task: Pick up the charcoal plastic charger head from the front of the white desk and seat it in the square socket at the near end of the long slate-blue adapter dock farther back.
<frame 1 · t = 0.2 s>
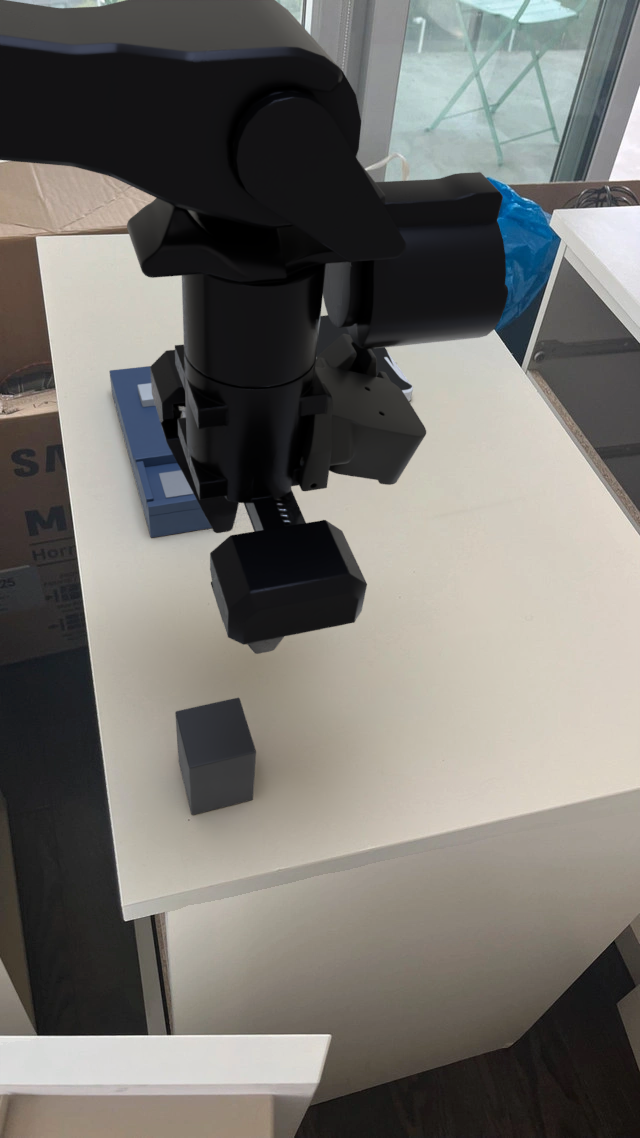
hand: (242, 586, 48), 14 cm above the table, tool pointing down, fingers open, 9 cm apart
adapter: (165, 454, 76), on the table
charger: (215, 780, 55), on the table
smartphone: (350, 366, 88), on the table
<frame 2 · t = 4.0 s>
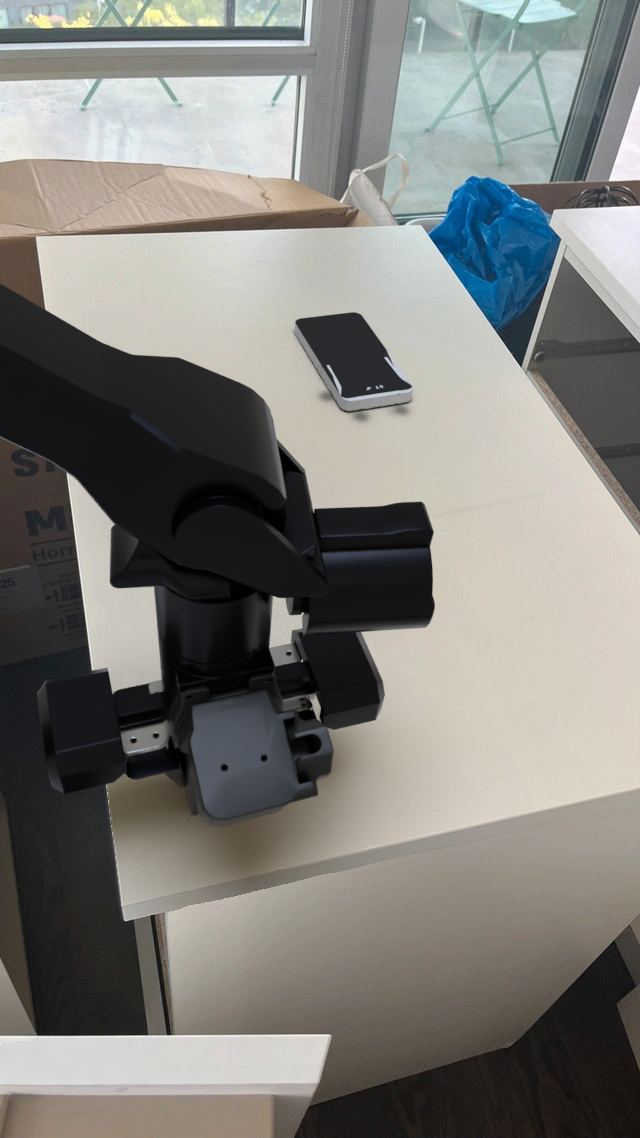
hand: (215, 772, 54), 1 cm above the table, tool pointing down, fingers closed on charger, 4 cm apart
charger: (215, 780, 55), on the table, touching gripper
everything else where it was.
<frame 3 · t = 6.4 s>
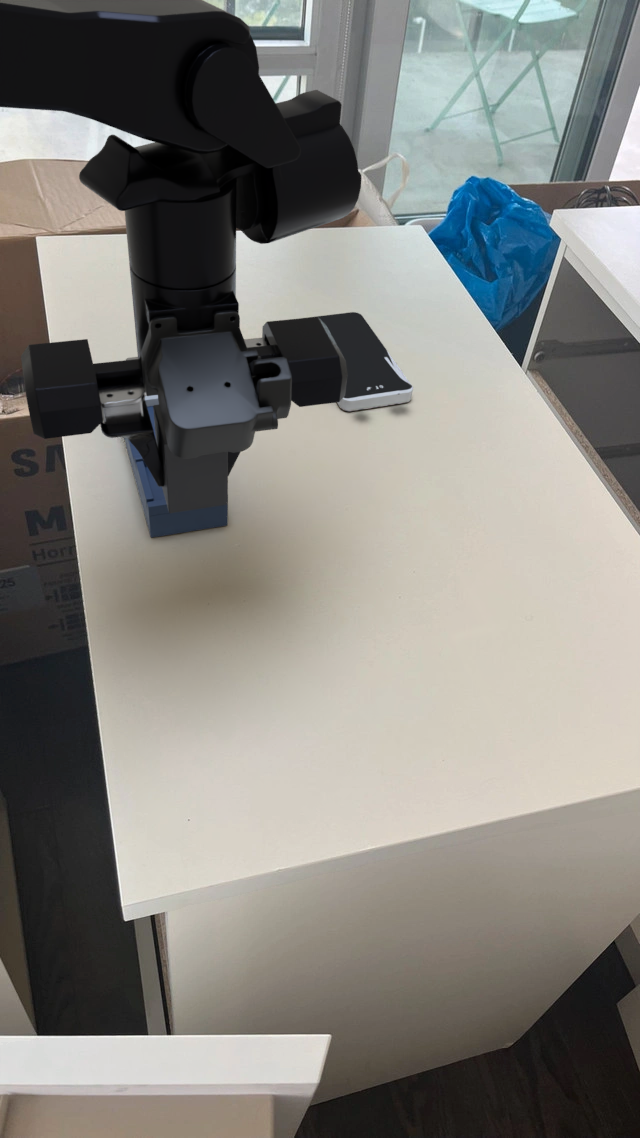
hand: (191, 478, 57), 11 cm above the table, tool pointing down, fingers closed on charger, 4 cm apart
charger: (192, 489, 58), point 10 cm above the table, touching gripper
everything else where it was.
when the fingers open (3 cm above the table, at t = 9.3 s): charger stays where it is, resting on adapter.
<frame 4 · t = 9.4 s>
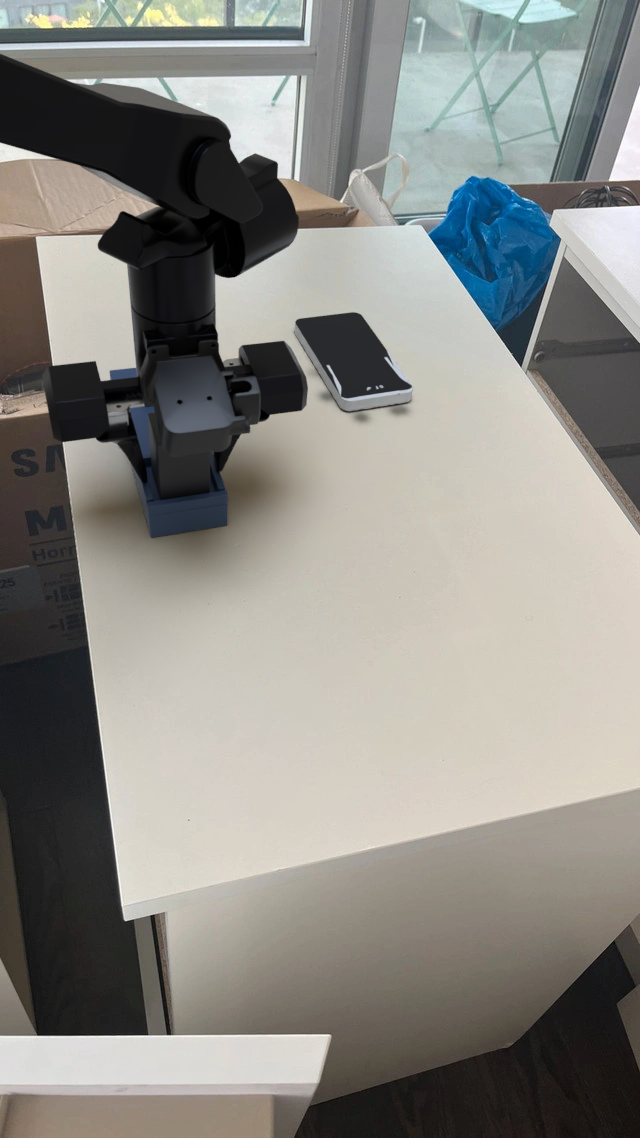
hand: (181, 474, 69), 4 cm above the table, tool pointing down, fingers open, 6 cm apart
charger: (180, 483, 70), point 3 cm above the table, touching adapter
everything else where it was.
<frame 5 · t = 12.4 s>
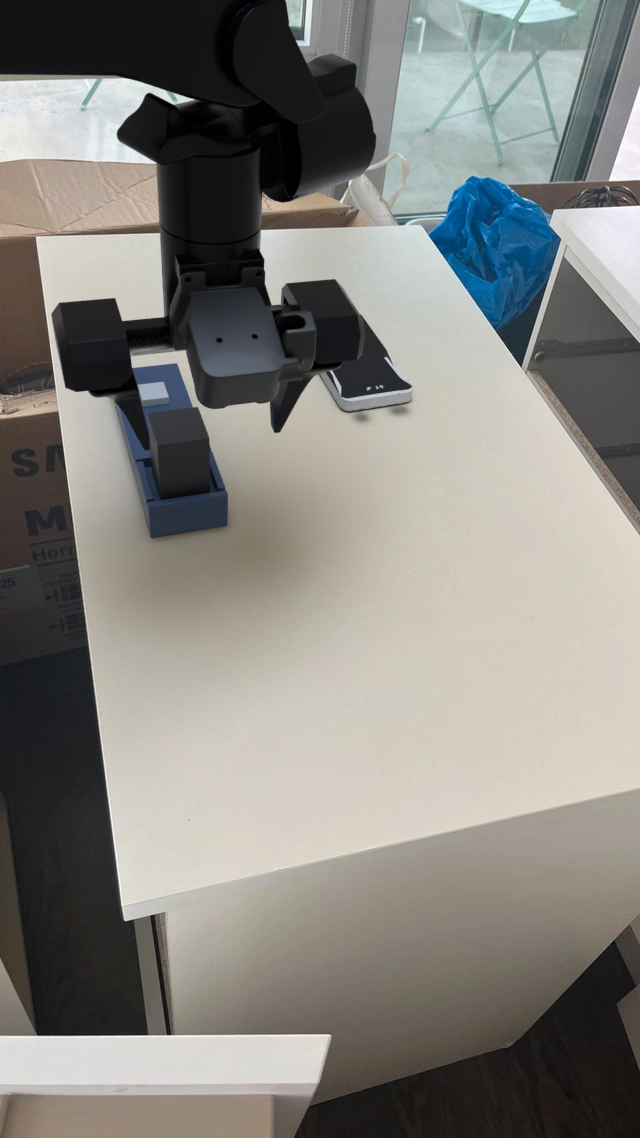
hand: (212, 438, 59), 12 cm above the table, tool pointing down, fingers open, 9 cm apart
nothing on the table moved.
at the end: charger 0.1 cm from the target spot on the adapter, point 2.6 cm above the adapter's base; charger tilted 0°; the gripper is holding nothing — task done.
